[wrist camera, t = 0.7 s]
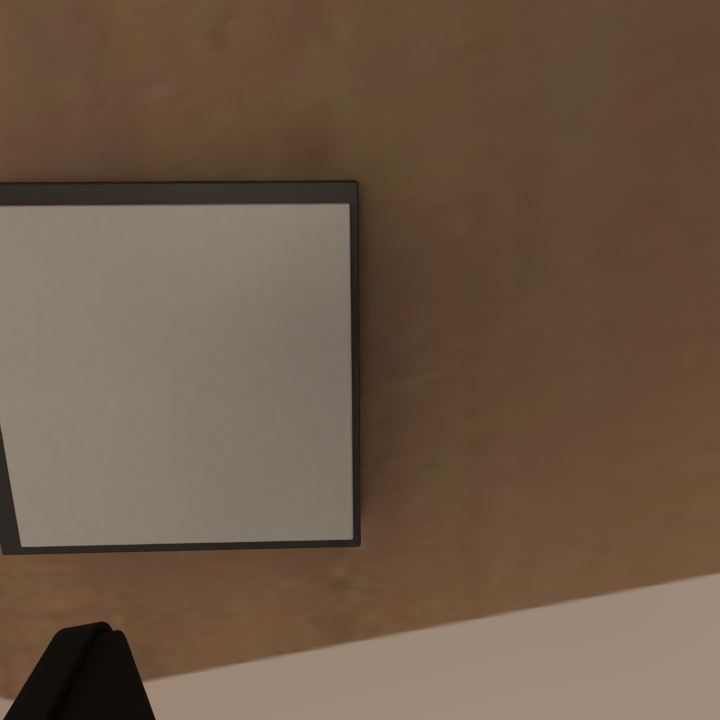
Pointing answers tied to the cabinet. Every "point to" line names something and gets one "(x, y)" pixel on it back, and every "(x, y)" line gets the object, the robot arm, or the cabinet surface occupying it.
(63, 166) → the cabinet surface
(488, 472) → the cabinet surface
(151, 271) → the scale
